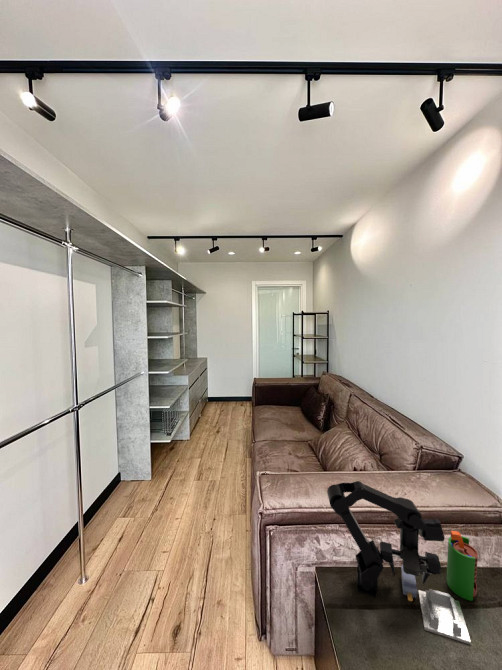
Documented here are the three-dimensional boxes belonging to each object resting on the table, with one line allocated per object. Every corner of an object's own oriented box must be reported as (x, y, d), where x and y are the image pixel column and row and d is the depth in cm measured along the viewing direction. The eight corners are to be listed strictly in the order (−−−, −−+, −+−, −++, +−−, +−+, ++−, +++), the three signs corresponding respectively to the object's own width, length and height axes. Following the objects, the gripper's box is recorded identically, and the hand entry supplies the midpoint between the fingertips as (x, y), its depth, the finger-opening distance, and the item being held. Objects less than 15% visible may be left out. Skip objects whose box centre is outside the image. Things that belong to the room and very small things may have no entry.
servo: (403, 599, 103) (403, 586, 103) (401, 575, 113) (401, 562, 112) (416, 603, 102) (417, 590, 101) (413, 578, 111) (413, 565, 111)
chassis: (424, 629, 94) (424, 618, 93) (418, 592, 106) (418, 582, 105) (470, 644, 89) (471, 632, 89) (458, 603, 101) (459, 593, 101)
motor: (483, 602, 101) (485, 547, 99) (454, 598, 103) (455, 544, 101) (468, 575, 111) (470, 525, 109) (441, 572, 113) (442, 522, 111)
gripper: (380, 548, 101) (380, 590, 103) (445, 564, 94) (444, 609, 96) (379, 525, 112) (379, 564, 113) (438, 538, 105) (437, 579, 106)
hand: (408, 578), depth 107 cm, fingers open, 9 cm apart
